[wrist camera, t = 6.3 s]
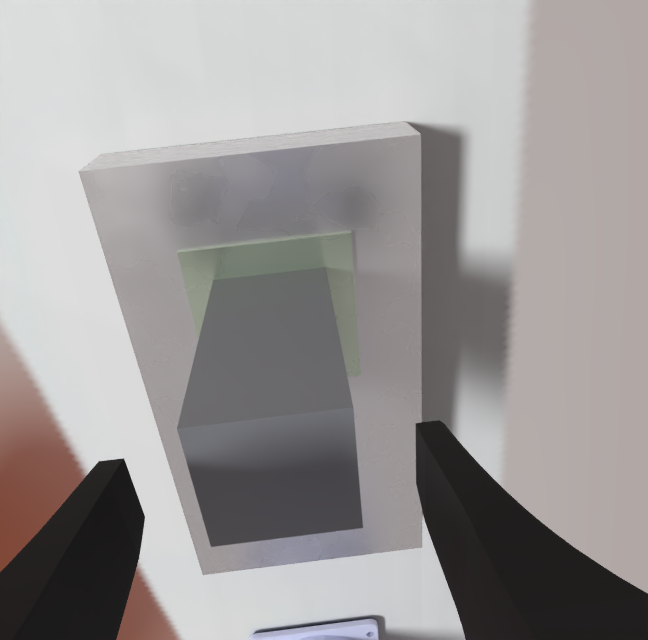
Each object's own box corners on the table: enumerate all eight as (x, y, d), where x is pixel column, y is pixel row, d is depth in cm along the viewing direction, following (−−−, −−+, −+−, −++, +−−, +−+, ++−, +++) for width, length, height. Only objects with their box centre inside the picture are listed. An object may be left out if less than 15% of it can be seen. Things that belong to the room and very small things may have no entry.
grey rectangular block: (334, 360, 21) (363, 528, 14) (232, 373, 21) (210, 547, 14) (325, 267, 19) (353, 407, 12) (212, 280, 19) (176, 428, 12)
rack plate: (411, 508, 29) (422, 550, 27) (208, 533, 29) (202, 578, 27) (405, 121, 20) (422, 135, 17) (100, 154, 19) (76, 173, 17)
